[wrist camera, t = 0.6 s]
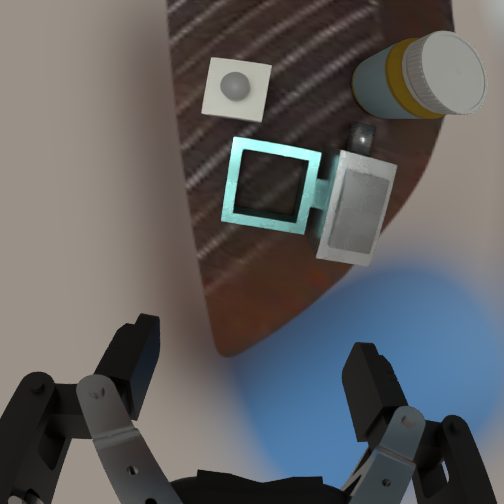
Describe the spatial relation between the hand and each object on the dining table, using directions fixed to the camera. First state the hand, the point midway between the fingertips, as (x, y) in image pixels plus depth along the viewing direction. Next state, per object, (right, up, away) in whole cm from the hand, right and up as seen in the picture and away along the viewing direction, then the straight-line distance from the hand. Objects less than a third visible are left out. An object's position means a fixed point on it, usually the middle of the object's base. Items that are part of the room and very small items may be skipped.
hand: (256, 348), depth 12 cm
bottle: (+14, +22, +17) cm, 30 cm away
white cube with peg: (-1, +20, +17) cm, 26 cm away
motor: (+5, +12, +20) cm, 24 cm away
